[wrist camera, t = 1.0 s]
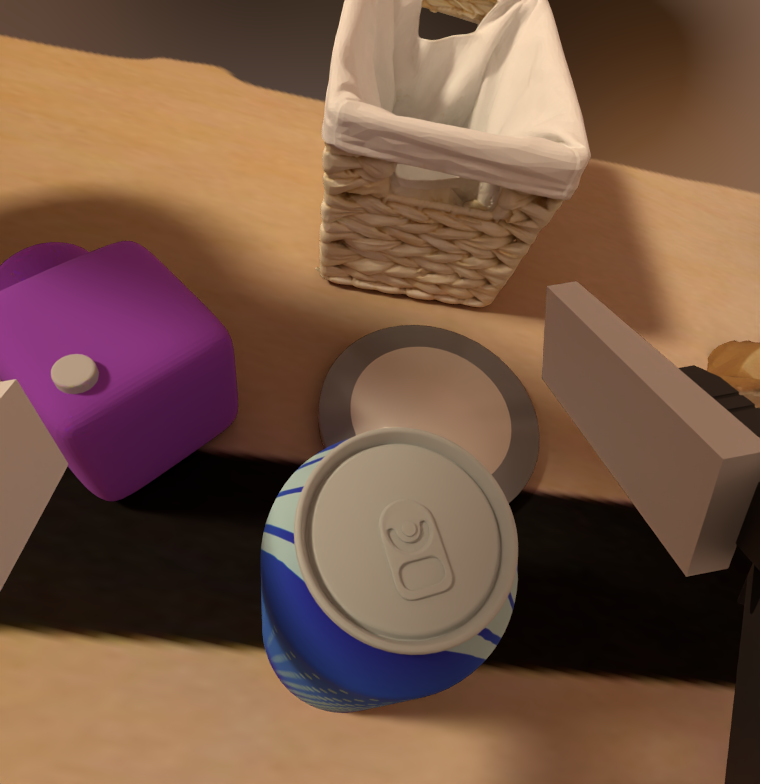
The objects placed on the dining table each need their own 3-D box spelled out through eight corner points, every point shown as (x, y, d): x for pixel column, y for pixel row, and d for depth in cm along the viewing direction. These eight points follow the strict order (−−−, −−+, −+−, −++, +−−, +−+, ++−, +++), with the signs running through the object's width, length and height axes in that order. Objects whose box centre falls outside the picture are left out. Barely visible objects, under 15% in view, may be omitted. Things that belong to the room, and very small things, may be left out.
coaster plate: (276, 463, 33) (276, 456, 32) (371, 304, 41) (373, 295, 40) (502, 570, 32) (509, 566, 31) (552, 385, 40) (559, 377, 39)
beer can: (231, 667, 26) (196, 603, 13) (307, 519, 31) (339, 362, 18) (384, 744, 26) (509, 759, 13) (439, 582, 31) (572, 468, 17)
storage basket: (336, 119, 54) (357, -63, 41) (490, 151, 55) (554, -13, 43) (302, 293, 40) (318, 104, 28) (505, 328, 42) (603, 165, 30)
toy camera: (110, 295, 37) (66, 169, 29) (264, 401, 35) (264, 299, 27) (-38, 397, 31) (-146, 277, 23) (135, 532, 29) (84, 453, 21)
